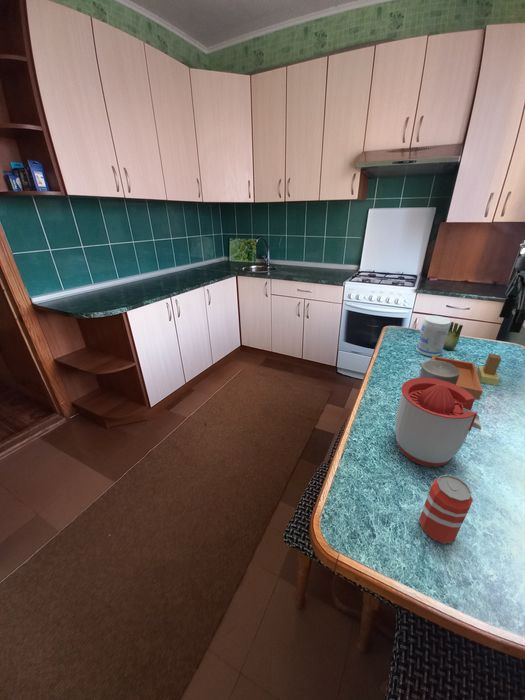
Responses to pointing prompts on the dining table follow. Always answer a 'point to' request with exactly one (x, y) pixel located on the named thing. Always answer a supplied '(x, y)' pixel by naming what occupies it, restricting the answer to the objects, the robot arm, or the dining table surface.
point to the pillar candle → (439, 371)
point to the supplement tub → (433, 335)
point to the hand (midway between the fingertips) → (508, 324)
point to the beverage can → (445, 508)
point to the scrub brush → (489, 370)
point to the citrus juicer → (433, 420)
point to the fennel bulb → (452, 336)
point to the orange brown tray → (466, 376)
